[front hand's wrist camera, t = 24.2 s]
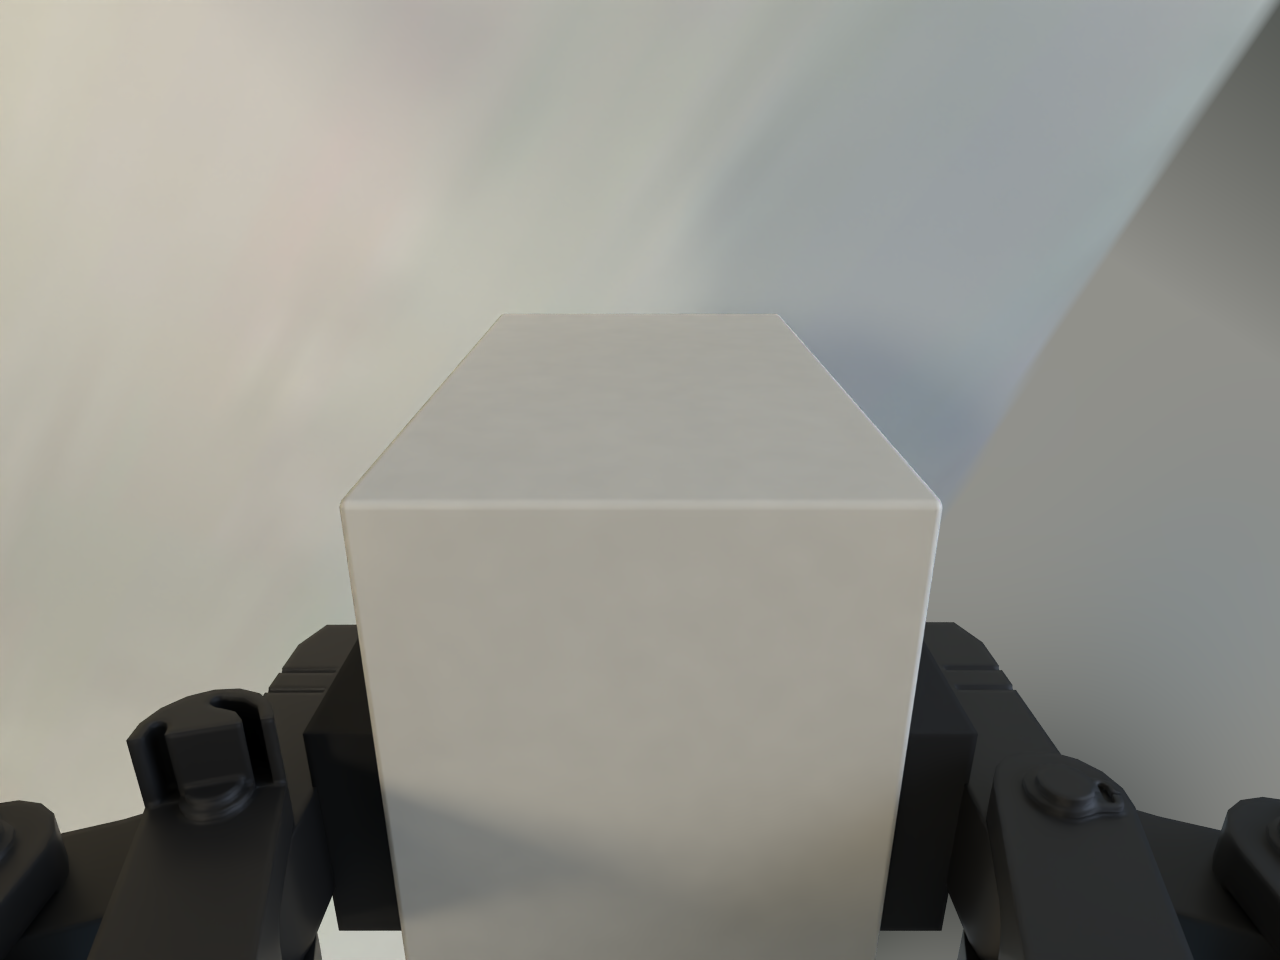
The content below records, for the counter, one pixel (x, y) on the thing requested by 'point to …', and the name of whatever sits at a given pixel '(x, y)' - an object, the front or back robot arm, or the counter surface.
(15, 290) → the counter surface
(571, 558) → the block
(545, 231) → the counter surface
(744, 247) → the counter surface
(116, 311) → the counter surface
